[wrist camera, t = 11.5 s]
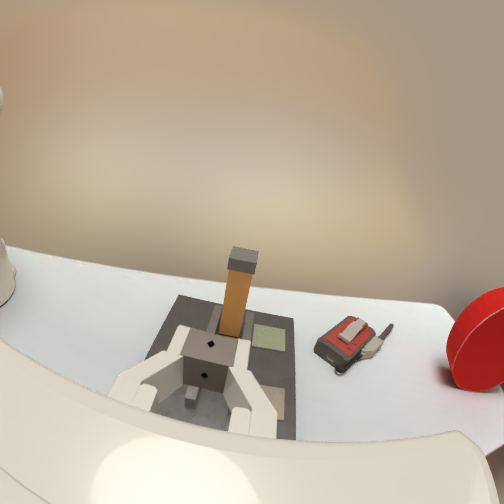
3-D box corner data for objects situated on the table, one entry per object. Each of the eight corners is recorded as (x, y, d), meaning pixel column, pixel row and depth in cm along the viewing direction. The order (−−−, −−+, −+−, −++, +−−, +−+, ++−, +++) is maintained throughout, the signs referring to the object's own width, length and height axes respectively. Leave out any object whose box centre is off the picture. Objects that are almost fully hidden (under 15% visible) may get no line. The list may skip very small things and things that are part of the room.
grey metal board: (123, 415, 26) (118, 399, 24) (178, 303, 48) (179, 285, 46) (290, 452, 26) (301, 439, 24) (290, 326, 48) (296, 309, 46)
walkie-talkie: (347, 385, 37) (393, 332, 50) (359, 367, 35) (402, 316, 49) (305, 353, 43) (360, 311, 56) (314, 334, 41) (368, 294, 54)
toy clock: (491, 376, 38) (541, 301, 29) (498, 395, 33) (554, 317, 24) (427, 362, 42) (480, 273, 34) (431, 384, 37) (494, 291, 28)
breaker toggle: (217, 333, 40) (229, 257, 34) (221, 319, 43) (233, 246, 37) (240, 338, 40) (256, 263, 34) (242, 324, 43) (258, 251, 37)
